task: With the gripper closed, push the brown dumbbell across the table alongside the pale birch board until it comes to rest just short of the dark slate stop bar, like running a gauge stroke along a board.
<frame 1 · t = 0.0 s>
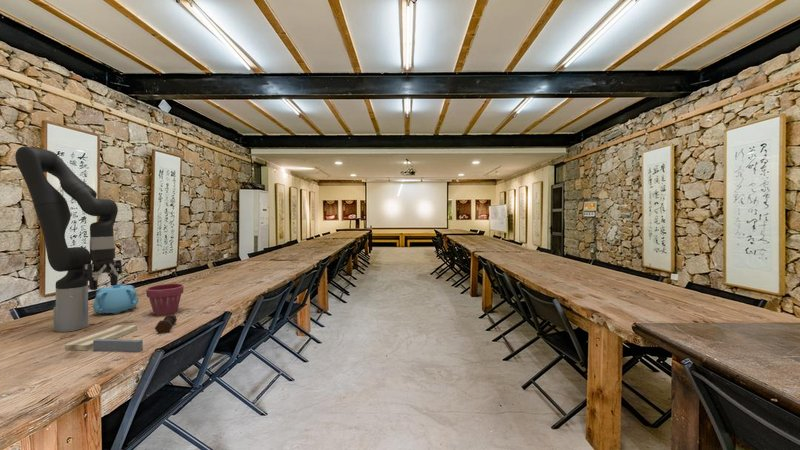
hand: (104, 287, 129), 17 cm above the table, tool pointing down, fingers open, 8 cm apart
brown dumbbell: (168, 328, 133), on the table
stop bar: (118, 350, 110), on the table
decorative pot: (116, 311, 154), on the table
birch board: (104, 339, 119), on the table
plant pot: (165, 313, 152), on the table
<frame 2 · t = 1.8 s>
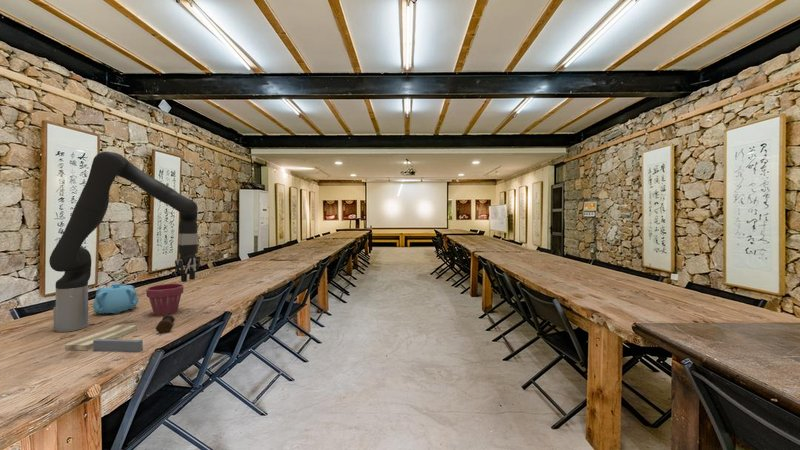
hand: (188, 280, 145), 17 cm above the table, tool pointing down, fingers open, 4 cm apart
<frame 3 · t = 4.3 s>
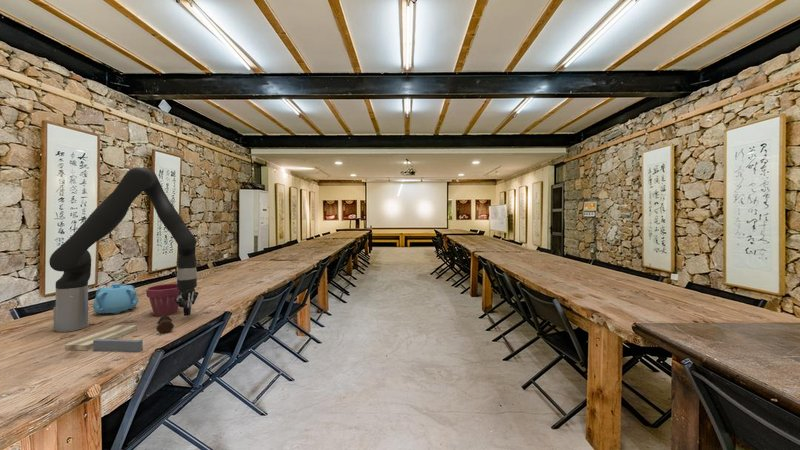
hand: (187, 315, 144), 1 cm above the table, tool pointing down, fingers closed
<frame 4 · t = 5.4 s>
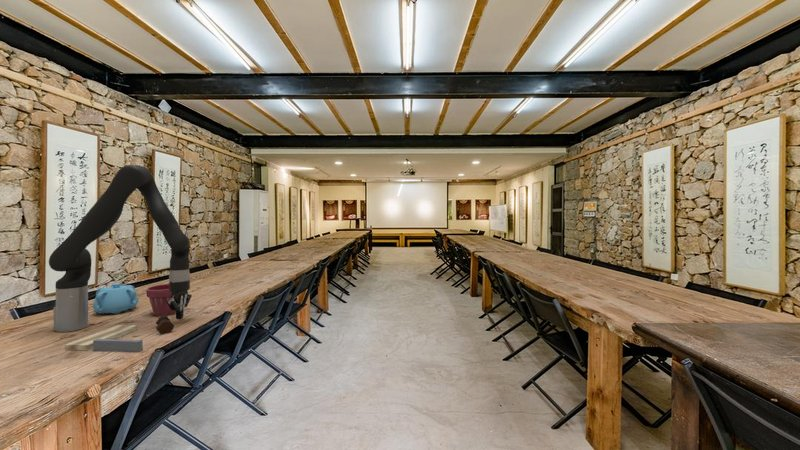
hand: (179, 318, 140), 1 cm above the table, tool pointing down, fingers closed
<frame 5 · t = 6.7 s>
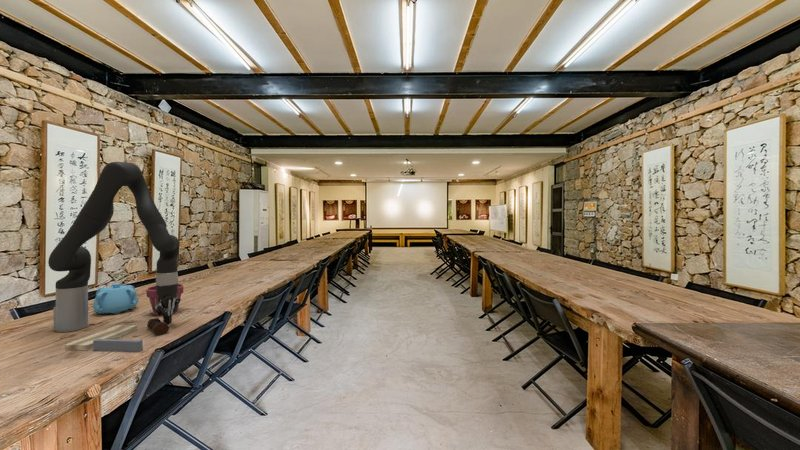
hand: (167, 324, 132), 2 cm above the table, tool pointing down, fingers closed
brown dumbbell: (156, 331, 129), on the table
everything else where it was.
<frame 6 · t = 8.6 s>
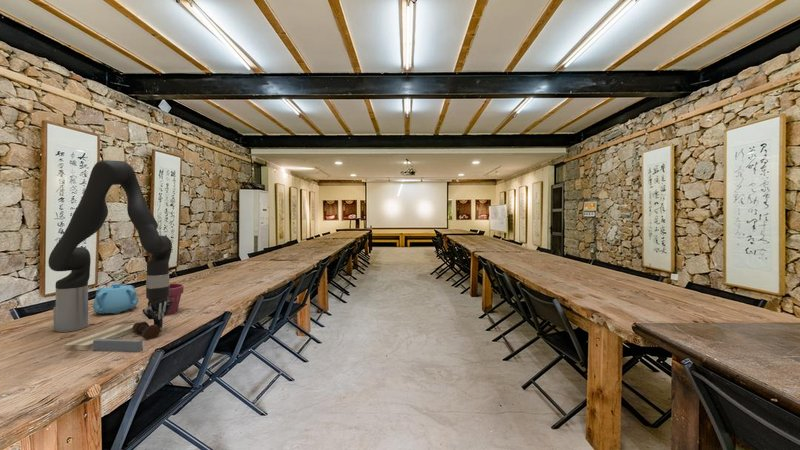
hand: (158, 328, 127), 2 cm above the table, tool pointing down, fingers closed
brown dumbbell: (145, 335, 125), on the table
everything else where it was.
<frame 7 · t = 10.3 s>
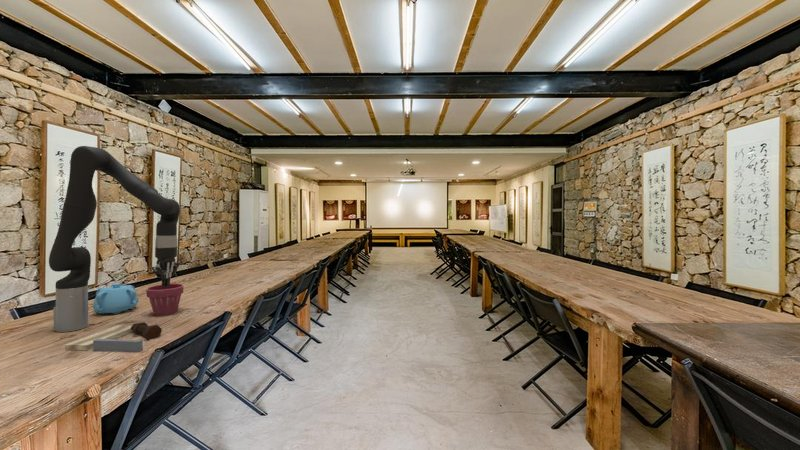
hand: (165, 286, 134), 17 cm above the table, tool pointing down, fingers closed
nothing on the table moved.
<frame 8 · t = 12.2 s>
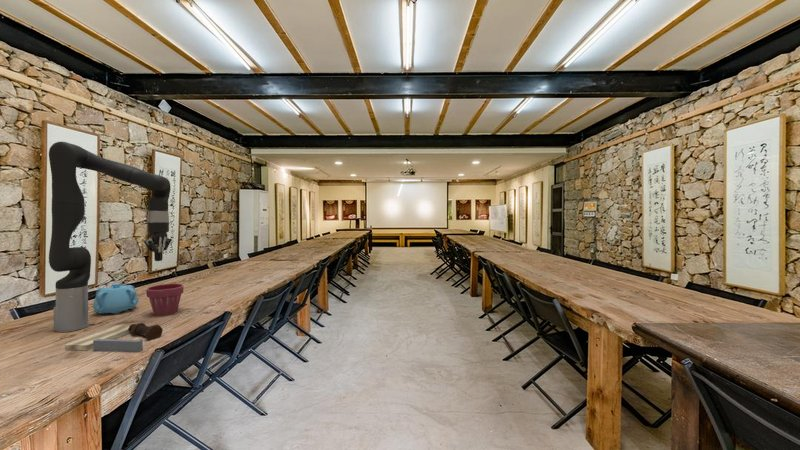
hand: (158, 260, 139), 27 cm above the table, tool pointing down, fingers closed
at the end: brown dumbbell inside the target area (6.0 cm from its centre), on the table; brown dumbbell moved 9.7 cm from its start; the gripper is holding nothing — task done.
